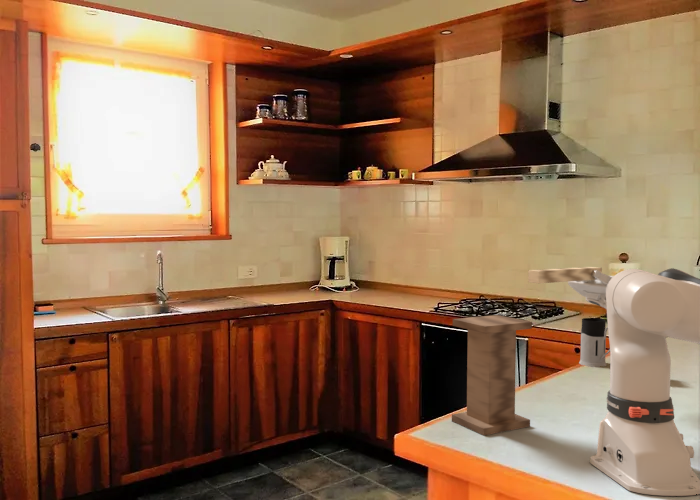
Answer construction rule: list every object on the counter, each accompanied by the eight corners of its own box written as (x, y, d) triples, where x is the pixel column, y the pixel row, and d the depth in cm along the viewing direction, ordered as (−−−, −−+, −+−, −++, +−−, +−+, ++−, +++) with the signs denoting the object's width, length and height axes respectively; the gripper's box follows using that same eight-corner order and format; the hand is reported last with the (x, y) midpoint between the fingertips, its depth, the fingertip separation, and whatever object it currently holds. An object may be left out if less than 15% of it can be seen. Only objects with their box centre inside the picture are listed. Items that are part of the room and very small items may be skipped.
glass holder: (593, 360, 229) (594, 317, 228) (624, 369, 216) (625, 323, 215) (573, 362, 226) (574, 318, 225) (603, 371, 212) (604, 325, 212)
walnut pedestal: (496, 412, 168) (497, 314, 166) (530, 426, 157) (531, 321, 156) (451, 421, 161) (452, 319, 160) (483, 435, 151) (485, 326, 149)
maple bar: (590, 278, 175) (591, 266, 175) (601, 279, 172) (601, 267, 172) (528, 282, 165) (528, 270, 165) (538, 283, 162) (538, 271, 162)
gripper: (646, 310, 168) (614, 286, 162) (583, 301, 186) (552, 279, 180) (655, 288, 169) (623, 263, 163) (592, 281, 187) (561, 258, 181)
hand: (585, 271), depth 172 cm, fingers closed on maple bar, 3 cm apart
